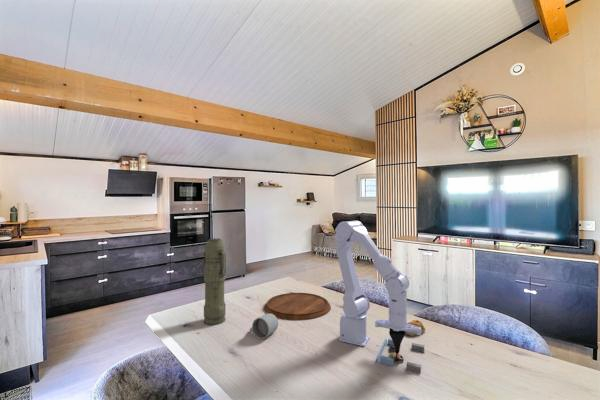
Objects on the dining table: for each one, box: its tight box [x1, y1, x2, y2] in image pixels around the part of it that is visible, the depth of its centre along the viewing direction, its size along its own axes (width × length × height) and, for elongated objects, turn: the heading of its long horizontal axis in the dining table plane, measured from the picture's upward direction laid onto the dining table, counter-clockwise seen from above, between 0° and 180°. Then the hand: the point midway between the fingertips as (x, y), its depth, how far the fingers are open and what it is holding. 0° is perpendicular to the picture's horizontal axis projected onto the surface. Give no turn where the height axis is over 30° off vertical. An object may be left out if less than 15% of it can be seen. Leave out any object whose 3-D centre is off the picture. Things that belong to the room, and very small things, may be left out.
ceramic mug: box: [249, 313, 279, 340], centre depth 114 cm, size 11×8×8 cm
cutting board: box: [264, 292, 332, 321], centre depth 143 cm, size 32×32×3 cm
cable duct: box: [375, 337, 425, 374], centre depth 98 cm, size 13×15×2 cm
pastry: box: [405, 319, 426, 337], centre depth 116 cm, size 9×7×4 cm
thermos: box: [203, 238, 227, 326], centre depth 126 cm, size 9×12×35 cm
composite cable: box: [387, 345, 404, 363], centre depth 98 cm, size 10×5×2 cm, turn 163°
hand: (397, 351), depth 99 cm, fingers closed
